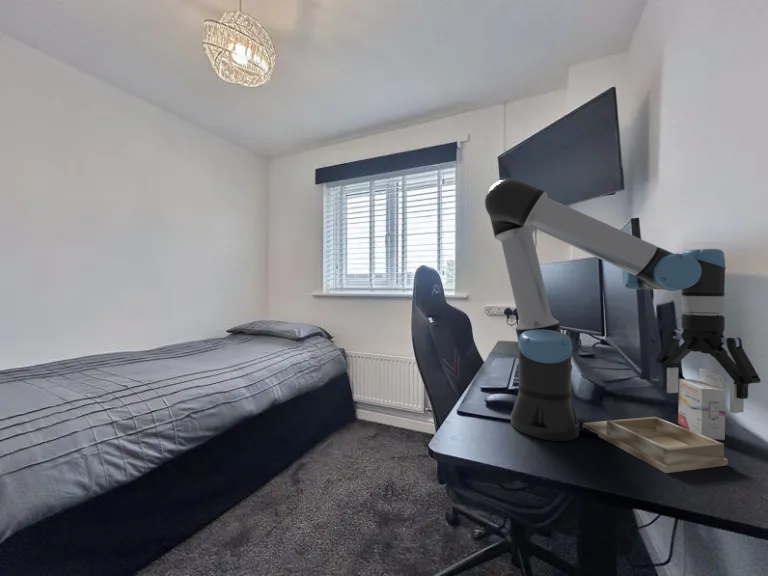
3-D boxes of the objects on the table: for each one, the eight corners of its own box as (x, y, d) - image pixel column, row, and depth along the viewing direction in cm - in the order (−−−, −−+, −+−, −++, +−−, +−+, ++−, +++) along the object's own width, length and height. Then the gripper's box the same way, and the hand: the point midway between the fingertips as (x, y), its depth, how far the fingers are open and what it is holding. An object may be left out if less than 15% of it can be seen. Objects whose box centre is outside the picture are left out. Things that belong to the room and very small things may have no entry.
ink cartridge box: (676, 423, 85) (677, 366, 85) (699, 425, 84) (700, 367, 84) (700, 438, 77) (702, 375, 77) (726, 440, 76) (727, 376, 76)
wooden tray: (582, 427, 82) (583, 410, 82) (633, 423, 85) (633, 406, 85) (665, 473, 63) (666, 451, 63) (727, 465, 66) (728, 444, 66)
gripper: (785, 318, 69) (784, 420, 69) (662, 309, 93) (662, 385, 94) (757, 319, 67) (756, 423, 68) (640, 310, 92) (640, 386, 92)
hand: (701, 401), depth 81 cm, fingers open, 13 cm apart
